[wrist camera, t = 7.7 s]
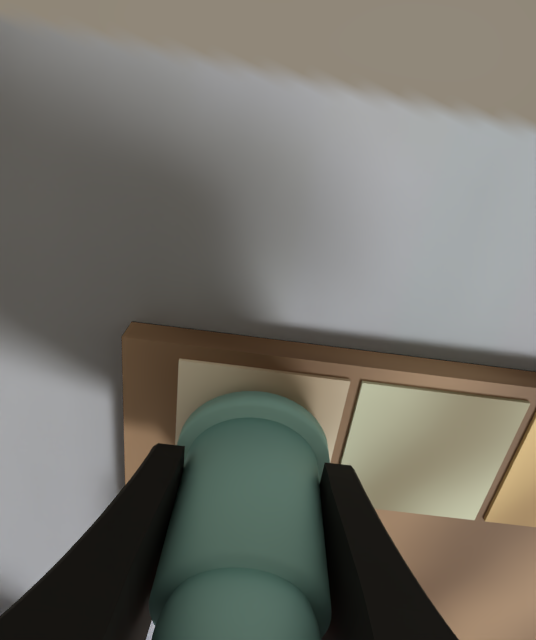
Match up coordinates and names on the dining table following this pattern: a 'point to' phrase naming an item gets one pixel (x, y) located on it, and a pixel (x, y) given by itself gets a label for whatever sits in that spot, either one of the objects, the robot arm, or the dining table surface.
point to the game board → (381, 451)
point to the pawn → (246, 526)
